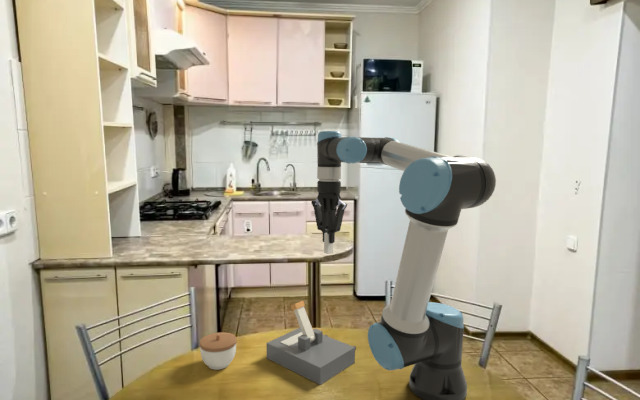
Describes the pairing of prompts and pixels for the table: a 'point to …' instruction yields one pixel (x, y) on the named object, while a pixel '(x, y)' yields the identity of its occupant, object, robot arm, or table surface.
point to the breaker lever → (303, 320)
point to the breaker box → (311, 355)
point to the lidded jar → (218, 349)
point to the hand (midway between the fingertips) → (328, 252)
